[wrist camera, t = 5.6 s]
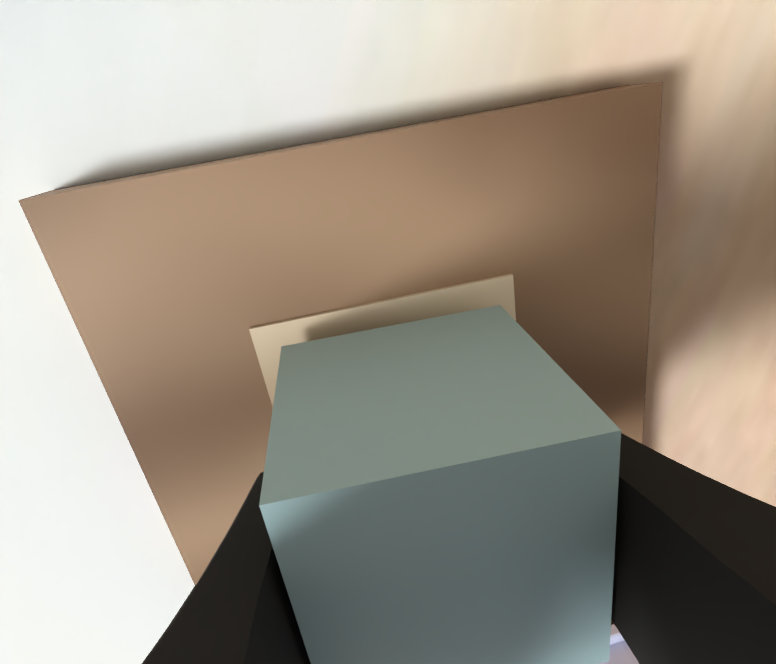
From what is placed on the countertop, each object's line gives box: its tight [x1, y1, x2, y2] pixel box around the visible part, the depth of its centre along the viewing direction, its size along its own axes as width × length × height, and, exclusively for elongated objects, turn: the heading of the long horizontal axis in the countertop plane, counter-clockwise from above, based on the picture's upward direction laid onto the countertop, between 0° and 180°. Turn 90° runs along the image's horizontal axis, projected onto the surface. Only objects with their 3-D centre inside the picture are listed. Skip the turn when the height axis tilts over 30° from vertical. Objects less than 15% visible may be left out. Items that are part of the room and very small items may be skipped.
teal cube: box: [259, 305, 621, 664], centre depth 9 cm, size 4×4×4 cm
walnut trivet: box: [19, 82, 662, 585], centre depth 12 cm, size 12×12×1 cm
